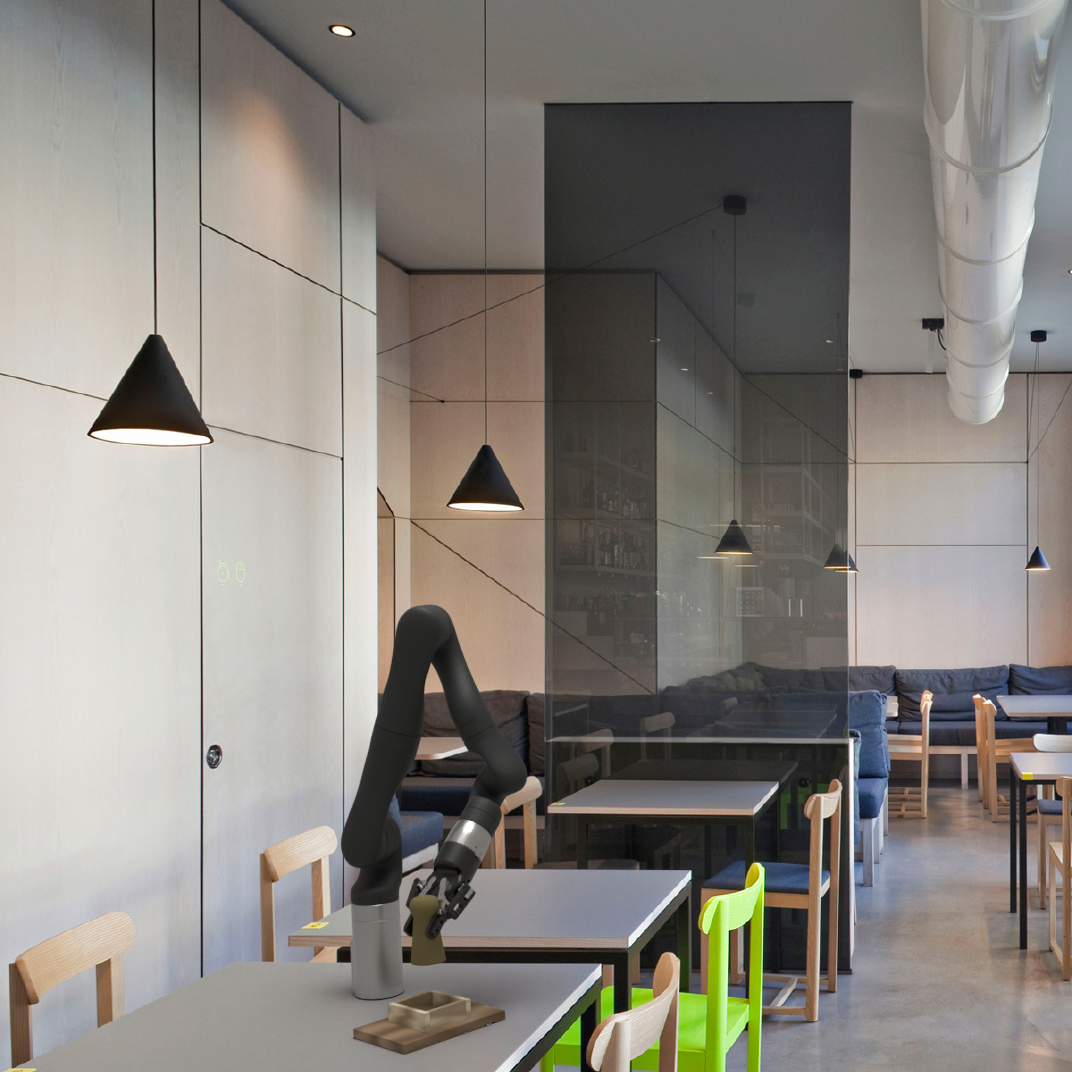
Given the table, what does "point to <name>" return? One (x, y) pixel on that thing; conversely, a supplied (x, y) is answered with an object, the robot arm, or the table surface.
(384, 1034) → the collar board
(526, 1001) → the table surface
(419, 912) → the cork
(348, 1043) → the table surface
